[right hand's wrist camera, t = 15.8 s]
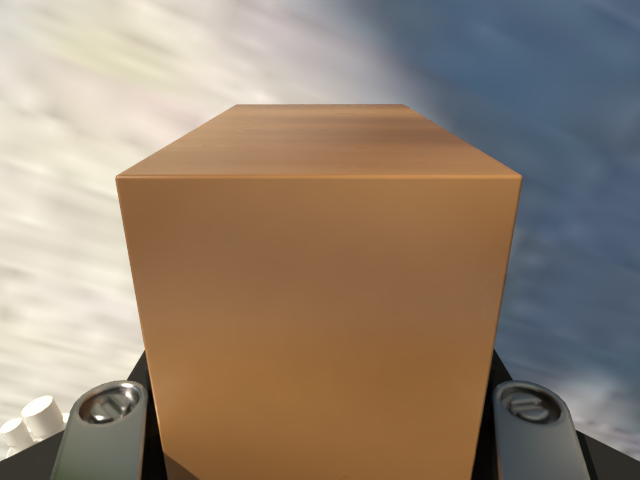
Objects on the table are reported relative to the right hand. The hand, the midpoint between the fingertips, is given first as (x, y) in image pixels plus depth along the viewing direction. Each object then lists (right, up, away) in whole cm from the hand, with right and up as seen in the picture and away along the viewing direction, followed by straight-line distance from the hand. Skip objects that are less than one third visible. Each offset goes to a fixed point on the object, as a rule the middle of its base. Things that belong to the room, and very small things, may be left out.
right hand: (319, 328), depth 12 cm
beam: (0, -30, +16) cm, 34 cm away
